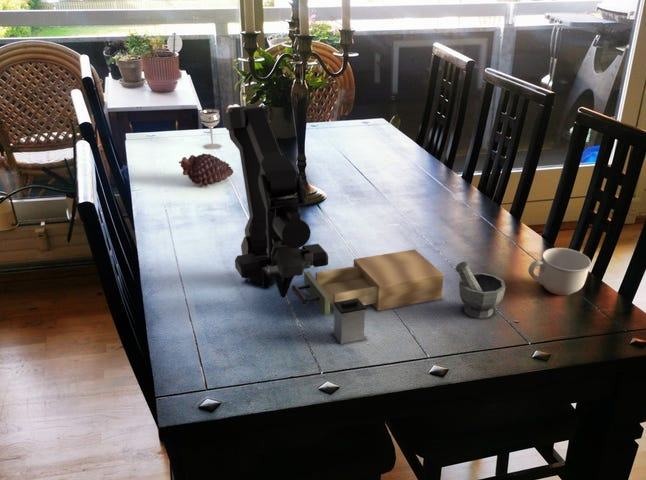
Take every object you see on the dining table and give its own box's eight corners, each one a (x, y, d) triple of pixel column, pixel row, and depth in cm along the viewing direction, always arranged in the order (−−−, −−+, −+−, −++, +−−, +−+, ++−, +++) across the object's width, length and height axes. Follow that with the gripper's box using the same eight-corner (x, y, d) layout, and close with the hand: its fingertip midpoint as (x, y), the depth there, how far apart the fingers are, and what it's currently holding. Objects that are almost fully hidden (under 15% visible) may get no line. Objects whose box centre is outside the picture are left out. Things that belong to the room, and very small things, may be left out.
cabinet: (378, 310, 158) (379, 285, 155) (352, 283, 169) (353, 259, 166) (441, 298, 163) (443, 274, 160) (412, 272, 174) (414, 249, 171)
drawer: (306, 319, 153) (306, 301, 151) (287, 292, 163) (286, 274, 161) (386, 304, 159) (387, 286, 157) (363, 279, 169) (363, 262, 167)
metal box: (340, 344, 147) (341, 308, 142) (333, 334, 150) (333, 299, 145) (364, 339, 148) (365, 304, 144) (356, 329, 152) (357, 294, 147)
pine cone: (223, 172, 233) (235, 149, 225) (231, 196, 229) (243, 173, 221) (170, 166, 223) (181, 142, 215) (178, 191, 218) (189, 167, 211)
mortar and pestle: (491, 298, 164) (498, 249, 157) (508, 319, 156) (516, 268, 149) (443, 303, 162) (449, 253, 155) (458, 324, 154) (465, 273, 147)
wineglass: (226, 145, 257) (223, 110, 250) (213, 150, 252) (210, 115, 245) (211, 142, 260) (208, 108, 253) (198, 147, 255) (195, 112, 248)
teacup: (575, 278, 173) (582, 247, 168) (590, 300, 164) (598, 268, 159) (517, 278, 172) (522, 247, 168) (529, 300, 163) (535, 268, 159)
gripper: (246, 251, 138) (251, 322, 147) (338, 237, 144) (337, 306, 153) (232, 229, 147) (236, 297, 155) (318, 217, 153) (319, 283, 161)
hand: (283, 296), depth 156 cm, fingers closed
